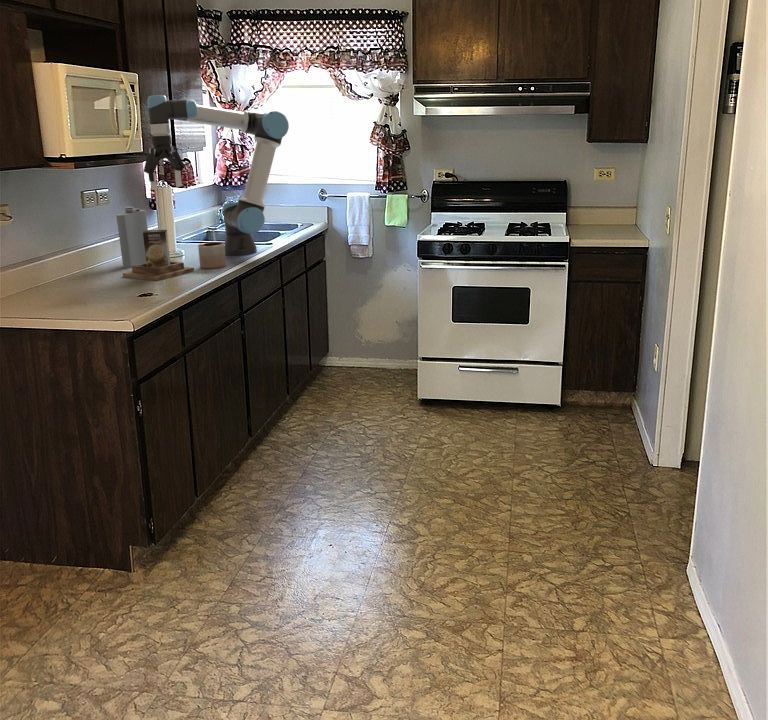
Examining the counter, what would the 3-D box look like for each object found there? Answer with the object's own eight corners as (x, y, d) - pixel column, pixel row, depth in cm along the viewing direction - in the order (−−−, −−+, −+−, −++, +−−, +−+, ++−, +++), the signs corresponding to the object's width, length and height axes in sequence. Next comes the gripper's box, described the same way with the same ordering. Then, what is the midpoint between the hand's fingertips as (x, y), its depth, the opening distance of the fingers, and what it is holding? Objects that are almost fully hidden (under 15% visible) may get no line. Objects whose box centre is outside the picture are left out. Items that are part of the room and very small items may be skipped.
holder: (160, 267, 340) (159, 258, 339) (194, 271, 330) (193, 261, 329) (122, 276, 324) (121, 267, 323) (157, 280, 314) (155, 270, 313)
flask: (144, 260, 359) (137, 204, 352) (153, 260, 358) (146, 204, 350) (120, 268, 344) (112, 209, 336) (129, 268, 342) (121, 209, 335)
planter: (220, 269, 332) (218, 246, 330) (195, 269, 335) (193, 246, 332) (230, 264, 343) (228, 241, 340) (206, 264, 345) (204, 242, 342)
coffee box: (146, 272, 323) (141, 232, 319) (148, 269, 329) (143, 230, 325) (169, 270, 324) (165, 231, 320) (171, 268, 331) (167, 229, 326)
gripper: (177, 133, 339) (182, 185, 346) (130, 136, 319) (137, 191, 326) (189, 133, 335) (195, 185, 342) (143, 136, 315) (150, 191, 322)
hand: (167, 188), depth 334 cm, fingers open, 13 cm apart
